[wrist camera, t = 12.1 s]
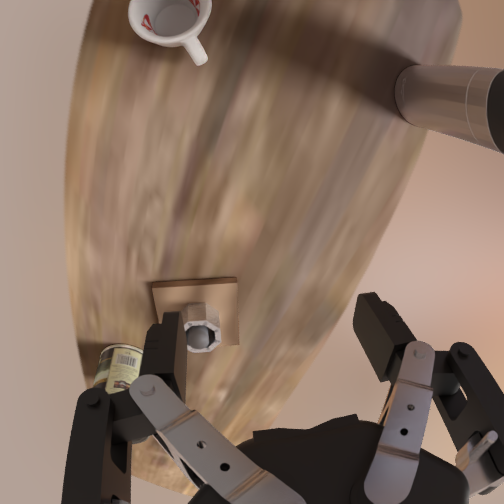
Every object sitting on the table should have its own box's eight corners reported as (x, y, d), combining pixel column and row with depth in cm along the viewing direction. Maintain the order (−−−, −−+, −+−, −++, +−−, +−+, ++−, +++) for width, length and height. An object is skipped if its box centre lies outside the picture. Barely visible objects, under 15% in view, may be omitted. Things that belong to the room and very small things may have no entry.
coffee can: (112, 383, 53) (102, 444, 41) (91, 345, 48) (72, 410, 36) (162, 379, 54) (159, 444, 42) (145, 340, 49) (135, 410, 37)
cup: (233, 52, 32) (241, 41, 25) (173, 84, 32) (165, 81, 25) (191, -16, 26) (188, -40, 19) (131, 16, 27) (114, -1, 20)
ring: (217, 301, 45) (219, 319, 42) (220, 332, 48) (222, 350, 45) (176, 304, 45) (174, 322, 41) (181, 335, 47) (181, 353, 44)
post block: (236, 277, 46) (241, 304, 40) (238, 338, 51) (243, 367, 46) (153, 282, 44) (147, 310, 38) (165, 343, 50) (163, 372, 44)
